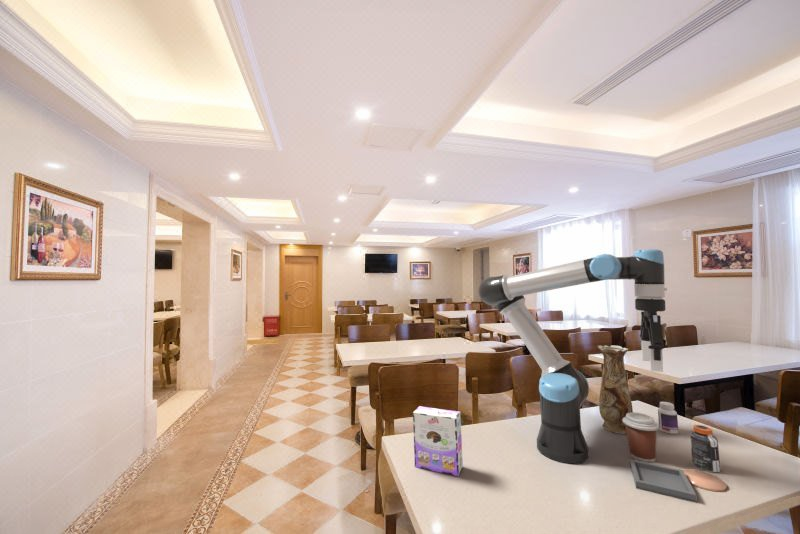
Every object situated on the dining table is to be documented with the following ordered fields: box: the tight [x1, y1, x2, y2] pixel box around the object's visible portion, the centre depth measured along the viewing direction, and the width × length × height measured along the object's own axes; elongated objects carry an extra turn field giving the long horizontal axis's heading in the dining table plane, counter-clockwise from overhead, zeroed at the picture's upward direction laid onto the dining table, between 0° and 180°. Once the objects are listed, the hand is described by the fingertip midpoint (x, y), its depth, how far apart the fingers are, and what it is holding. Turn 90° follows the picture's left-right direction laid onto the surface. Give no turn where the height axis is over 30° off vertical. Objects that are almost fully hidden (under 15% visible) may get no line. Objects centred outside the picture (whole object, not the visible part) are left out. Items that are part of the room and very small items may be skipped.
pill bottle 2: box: [689, 424, 721, 473], centre depth 92 cm, size 6×6×11 cm
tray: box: [629, 459, 698, 504], centre depth 85 cm, size 12×12×2 cm
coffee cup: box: [622, 411, 660, 463], centre depth 98 cm, size 9×9×12 cm
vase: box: [597, 344, 634, 435], centre depth 118 cm, size 10×11×30 cm
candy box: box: [412, 405, 464, 477], centre depth 95 cm, size 14×6×16 cm, turn 65°
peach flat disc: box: [682, 468, 727, 493], centre depth 85 cm, size 9×9×1 cm
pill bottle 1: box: [657, 401, 680, 435], centre depth 114 cm, size 5×5×10 cm
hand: (651, 365), depth 99 cm, fingers open, 13 cm apart
